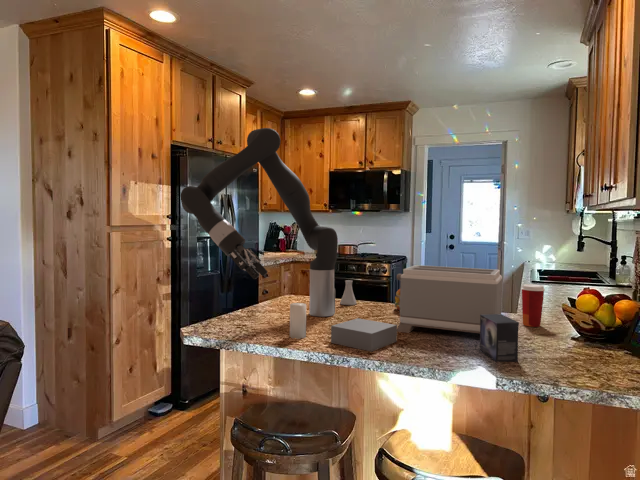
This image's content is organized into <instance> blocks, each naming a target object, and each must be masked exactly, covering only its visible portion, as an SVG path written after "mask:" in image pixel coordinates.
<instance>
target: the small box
mask: <svg viewBox="0 0 640 480" xmlns="http://www.w3.org/2000/svg"><path fill="white" fill-rule="evenodd" d="M519 325H520V322H519V321H517V320H514V319H512V318H510V317H508V316H506V315H503V314H502V313H501V314H486V315H480V333H479V351H480V352H481V353H483V354H484V355H485V356H487V357H489V358H490V359H491V360H492V361H495V362H496V363H501V362H503V363H506V362H507V363H508V362H515V363H516V362H518V361H519Z"/></svg>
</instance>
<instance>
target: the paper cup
mask: <svg viewBox="0 0 640 480" xmlns="http://www.w3.org/2000/svg"><path fill="white" fill-rule="evenodd" d="M520 290H521V306H522V309H521V310H522V326H525V327H530V328H539V327H541V323H542V314H543V304H544V296H545V293H544V292H545V291H546V289H545V287H544V285H541V284H530V283H528V284H525V283H524V284H522V285H521V287H520Z"/></svg>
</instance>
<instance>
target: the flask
mask: <svg viewBox="0 0 640 480" xmlns="http://www.w3.org/2000/svg"><path fill="white" fill-rule="evenodd" d="M344 282H345V287H344V291H343V295H342V296H341V300H340V302H339V304H340V305H345V306H354V305H357V304H358V303H357V300H356V297H355V294H354V290H353V280H349V279H348V280H344Z"/></svg>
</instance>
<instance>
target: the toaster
mask: <svg viewBox="0 0 640 480" xmlns="http://www.w3.org/2000/svg"><path fill="white" fill-rule="evenodd" d="M402 270H403V272H402V273H397V274H396V278H395V279H396V280H397V281H400V282H399V283H400V286H399V289H400V297H399V300H400V305H399V308H400V310H399V323H398V325H397V333H407V334H409V333H411V331H413V330H414V329H415V328H414V327H420V328H427V329H428V328H429V329H438V330H446V331H454V332H455V331H456V332H462V333H463V332H464V333H471V334H480V315H486V314H502V306H503V305H502V302H503V299H502V298H503V295H502V293H503V276H502V274H500V272H501V271H500V269H495V268H492V269H491V268H472V267H459V266H457V267H456V266H440V265H439V266H438V265H437V266H436V265H421V264H415V265H412V266H409V267H405V268H403V269H402Z"/></svg>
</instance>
